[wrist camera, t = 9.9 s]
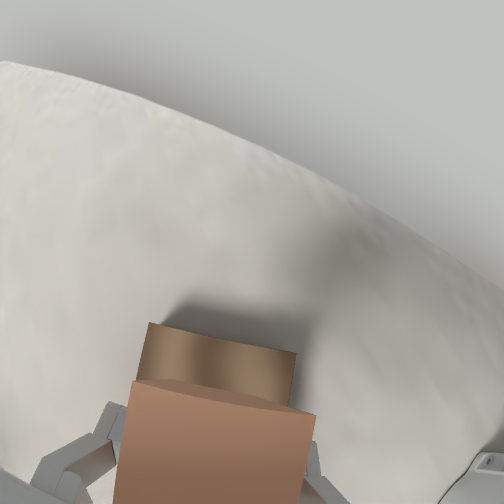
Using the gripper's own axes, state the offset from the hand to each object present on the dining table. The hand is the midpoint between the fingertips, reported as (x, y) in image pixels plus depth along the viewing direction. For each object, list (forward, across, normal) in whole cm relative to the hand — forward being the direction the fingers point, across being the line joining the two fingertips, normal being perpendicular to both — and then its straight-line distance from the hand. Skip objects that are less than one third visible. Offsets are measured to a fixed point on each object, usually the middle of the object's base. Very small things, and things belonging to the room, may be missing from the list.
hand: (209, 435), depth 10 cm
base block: (+12, 0, +13) cm, 17 cm away
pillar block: (+4, 0, +5) cm, 6 cm away
